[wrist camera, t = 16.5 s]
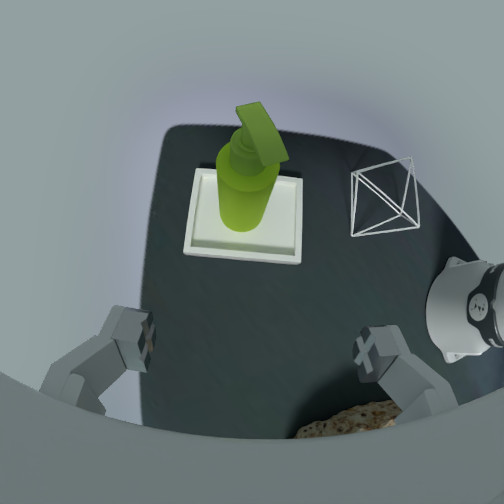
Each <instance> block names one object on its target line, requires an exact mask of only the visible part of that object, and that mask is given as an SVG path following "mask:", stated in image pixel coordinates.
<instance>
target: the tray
mask: <svg viewBox="0 0 504 504" xmlns="http://www.w3.org/2000/svg"><path fill="white" fill-rule="evenodd" d="M302 188H303V179H301V178H293V177H286V176H277V179H276V182H275V185H274V187H273V190H272V193H271V195H270V198H269V201H268V204H267V206H266V209H265V212H264V215H263V217H262V220H261V222H260V223H259V225H258V226H257V227H256V228H254V229H253V230H251V231H248V232H235V231H233V230H231V229H229V228H228V227H226V226H225V225H224V223H223V222H222V220H221V217H220V211H219V198H218V185H217V172H216V169H202V168H196V172H195V178H194V183H193V189H192V195H191V202H190V208H189V215H188V221H187V228H186V236H185V243H184V251H183V252H184V254H185V255H192V256H203V257H214V258H225V259H236V260H247V261H259V262H271V263H283V264H295V265H298V264H299V263H301V246H302Z"/></svg>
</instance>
